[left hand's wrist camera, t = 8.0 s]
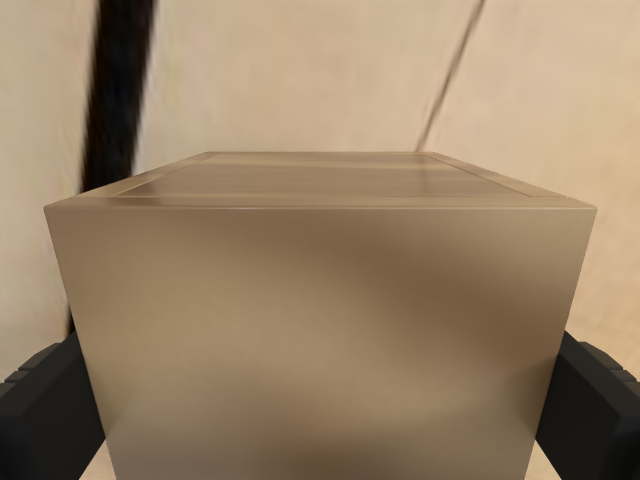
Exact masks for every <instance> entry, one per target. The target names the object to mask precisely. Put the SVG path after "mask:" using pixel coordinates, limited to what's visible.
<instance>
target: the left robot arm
mask: <svg viewBox="0 0 640 480" xmlns="http://www.w3.org/2000/svg"><path fill="white" fill-rule="evenodd" d="M104 440H105V435H104V431H103V428H102V424H101V420H100V417H99V413H98V409H97V405H96V402H95V398H94V394H93V391H92V387H91V383H90V379H89V376H88V372H87V368H86V365H85V361H84V357H83V353H82V350H81V346H80V342H79V338H78V335H77V331H76V330H75V331H74V332H73V333H72V334H71V335H70V336H68V337H67V338H66V339H65V340H64V341H63V342H62V343H54V344H53V345H51V346H49V347H47V348H45V349H44V350H42V351H40V352H38V353H36V354H35V355H33V356H32V357H31V358H30V359H29V360H28V361H26V362H25V363H24V364H23V365H22V366H21V367H19V368H18V371H15V372H14V373H12V374H11V375H10V376H9V377H8V378H6V379H5V382H4V383H1V384H0V480H79V479H80V477H81V475H82V474H83V472H84V471H85V469H86V468H87V466H88V465H89V463H90V462H91V460H92V459H93V457H94V456H95V454H96V453H97V451H98V449H99V448H100V446H101V445H102V443H103V442H104ZM535 440H536V441H537V443H538V444H539V446H540V447H541V449H542V450H543V452H544V453H545V455H546V457H547V458H548V460H549V461H550V463H551V464H552V466H553V467H554V469H555V470H556V472H557V473H558V475H559V476H560V478H561V479H562V480H640V382H637V380H636V378H635V377H634V376H633V375H631V374H630V373H629V372H628V371H627V370H623V367H622V366H621V365H620V364H618V363H617V362H616V361H615V360H614V359H612V358H611V357H610V356H609V355H608V354H607V353H605V352H603V351H601V350H599V349H598V348H596V347H594V346H592V345H590V344H589V343H587V342H578V341H577V340H575V339H574V338H573V337H572V336H571V335H570V334H569V333H568V332H566V331H565V330H564V334H563V338H562V341H561V345H560V349H559V352H558V356H557V360H556V363H555V367H554V371H553V375H552V378H551V382H550V386H549V389H548V393H547V397H546V400H545V404H544V408H543V412H542V415H541V419H540V423H539V426H538V430H537V434H536V437H535Z"/></svg>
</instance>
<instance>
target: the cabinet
mask: <svg viewBox="0 0 640 480" xmlns="http://www.w3.org/2000/svg"><path fill="white" fill-rule="evenodd" d="M44 212H45V216H46V220H47V223H48V227H49V231H50V234H51V238H52V242H53V246H54V249H55V253H56V257H57V260H58V264H59V268H60V272H61V275H62V279H63V283H64V286H65V290H66V294H67V298H68V301H69V305H70V309H71V312H72V316H73V320H74V324H75V327H76V331H77V335H78V338H79V342H80V346H81V350H82V353H83V357H84V361H85V365H86V368H87V372H88V376H89V379H90V383H91V387H92V391H93V394H94V398H95V402H96V405H97V409H98V413H99V417H100V420H101V424H102V428H103V431H104V435H105V439H106V443H107V446H108V450H109V454H110V457H111V461H112V465H113V469H114V472H115V476H116V480H524V478H525V474H526V471H527V467H528V463H529V460H530V456H531V452H532V449H533V445H534V441H535V437H536V434H537V430H538V426H539V423H540V419H541V415H542V412H543V408H544V404H545V400H546V397H547V393H548V389H549V386H550V382H551V378H552V375H553V371H554V367H555V363H556V360H557V356H558V352H559V349H560V345H561V341H562V338H563V334H564V330H565V326H566V323H567V319H568V315H569V312H570V308H571V304H572V301H573V297H574V293H575V289H576V286H577V282H578V278H579V275H580V271H581V267H582V264H583V260H584V256H585V252H586V249H587V245H588V241H589V238H590V234H591V230H592V227H593V223H594V219H595V215H596V212H597V207H596V206H594V205H591V204H588V203H585V202H582V201H579V200H576V199H573V198H570V197H566V196H563V195H560V194H557V193H554V192H551V191H548V190H545V189H542V188H539V187H536V186H534V185H531V184H528V183H525V182H522V181H519V180H516V179H513V178H510V177H507V176H504V175H501V174H498V173H495V172H492V171H489V170H486V169H483V168H480V167H477V166H474V165H471V164H468V163H465V162H462V161H459V160H456V159H453V158H450V157H447V156H444V155H441V154H438V153H435V152H205V153H202V154H199V155H196V156H193V157H190V158H187V159H184V160H181V161H178V162H175V163H172V164H169V165H166V166H163V167H160V168H157V169H154V170H151V171H148V172H145V173H142V174H139V175H136V176H133V177H130V178H127V179H124V180H121V181H118V182H115V183H112V184H109V185H106V186H103V187H100V188H97V189H94V190H91V191H88V192H85V193H82V194H79V195H76V196H74V197H70V198H67V199H64V200H61V201H59V202H56V203H53V204H50V205H47V206H45V207H44Z"/></svg>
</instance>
